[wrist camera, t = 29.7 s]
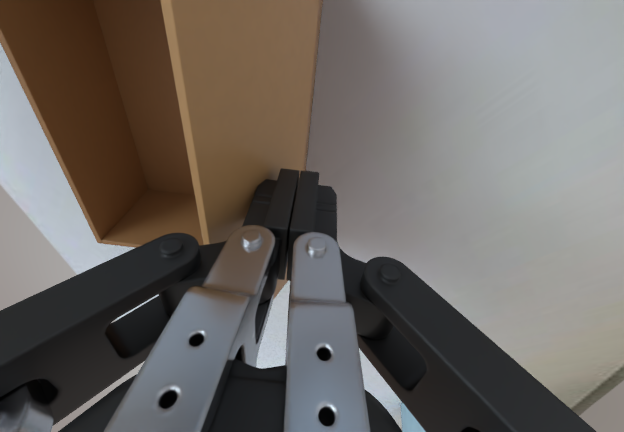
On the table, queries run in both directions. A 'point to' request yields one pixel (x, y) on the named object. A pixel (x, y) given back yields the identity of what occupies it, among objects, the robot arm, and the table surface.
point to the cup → (409, 421)
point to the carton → (110, 110)
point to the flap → (240, 98)
